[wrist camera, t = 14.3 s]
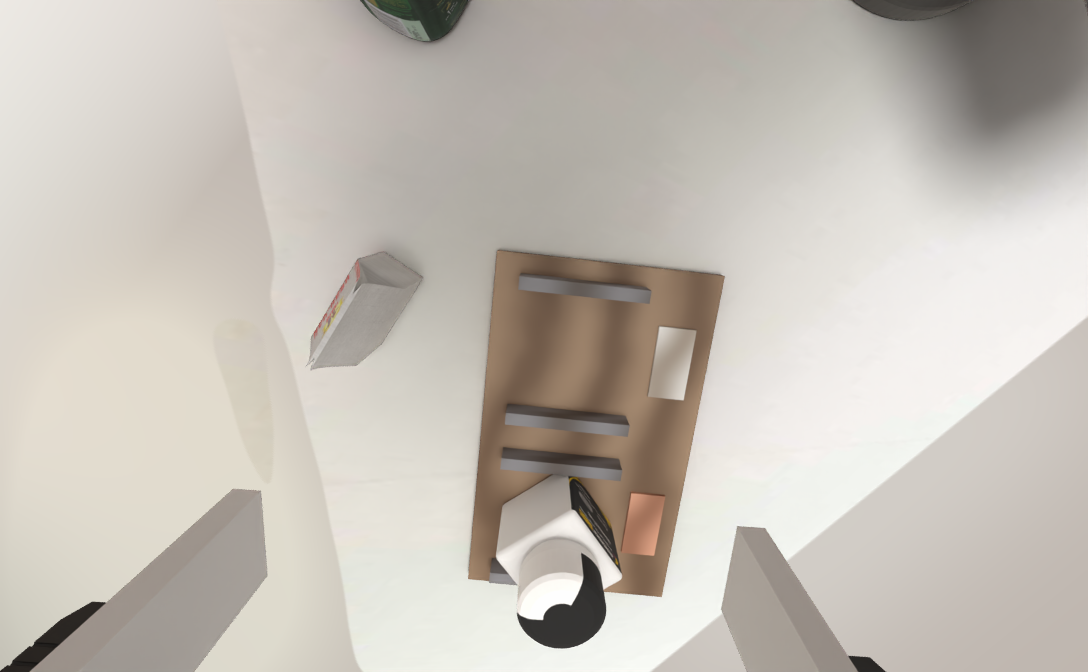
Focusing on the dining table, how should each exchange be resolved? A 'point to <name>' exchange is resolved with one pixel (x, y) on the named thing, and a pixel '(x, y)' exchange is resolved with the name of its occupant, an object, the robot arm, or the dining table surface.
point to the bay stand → (593, 398)
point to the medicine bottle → (558, 560)
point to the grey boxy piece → (362, 311)
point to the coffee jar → (417, 16)
